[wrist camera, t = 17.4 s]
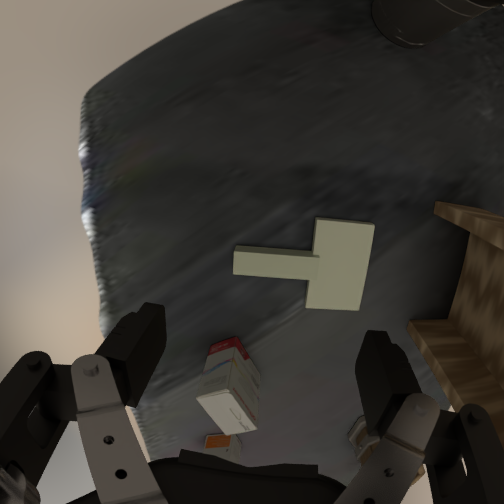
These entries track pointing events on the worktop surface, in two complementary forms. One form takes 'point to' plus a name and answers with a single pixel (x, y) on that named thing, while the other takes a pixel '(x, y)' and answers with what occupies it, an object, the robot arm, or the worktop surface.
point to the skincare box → (223, 447)
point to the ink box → (230, 387)
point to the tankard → (369, 445)
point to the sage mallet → (318, 263)
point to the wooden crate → (471, 319)
